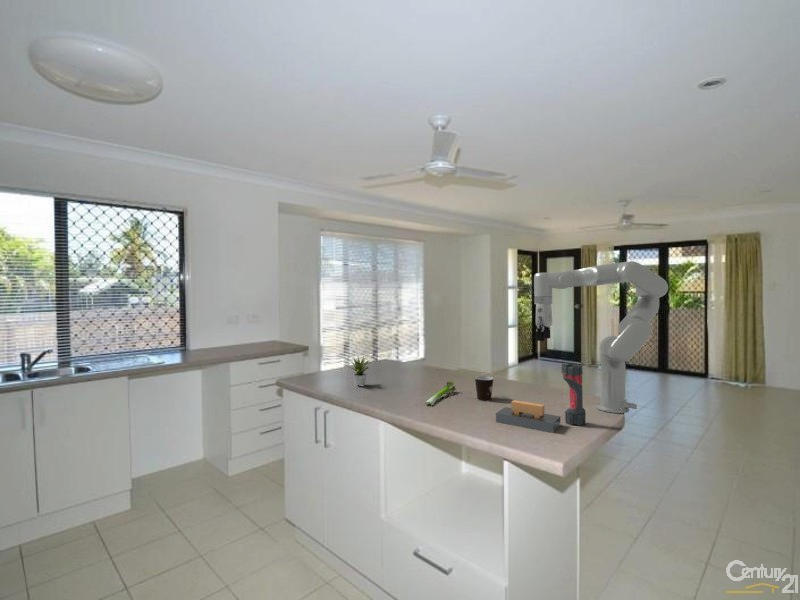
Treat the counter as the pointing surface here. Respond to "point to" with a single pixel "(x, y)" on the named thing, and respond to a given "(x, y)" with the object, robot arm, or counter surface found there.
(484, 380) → the coffee mug
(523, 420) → the dark gray slotted block
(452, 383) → the green celery stalk
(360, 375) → the house plant
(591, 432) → the counter surface
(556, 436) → the counter surface
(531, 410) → the tan bridge block
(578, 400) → the flashlight
